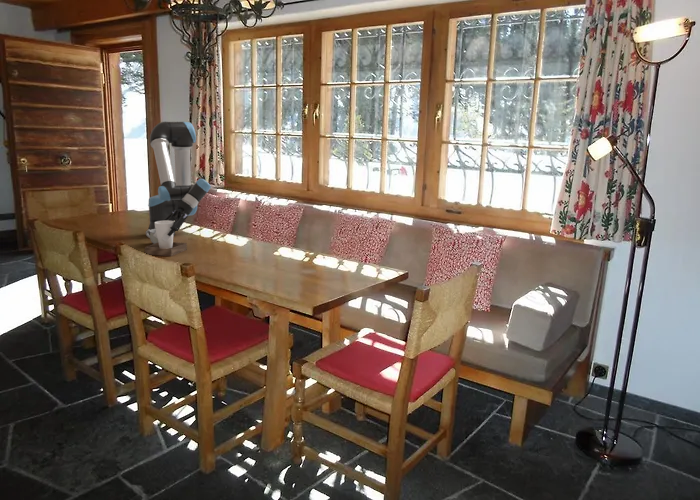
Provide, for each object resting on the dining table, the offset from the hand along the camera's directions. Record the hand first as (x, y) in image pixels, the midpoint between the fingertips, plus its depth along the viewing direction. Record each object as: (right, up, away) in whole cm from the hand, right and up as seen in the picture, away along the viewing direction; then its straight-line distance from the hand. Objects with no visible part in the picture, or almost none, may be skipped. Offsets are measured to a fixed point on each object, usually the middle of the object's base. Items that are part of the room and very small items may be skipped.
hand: (159, 238), depth 270 cm
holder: (+2, -7, +4) cm, 8 cm away
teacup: (-8, -3, +21) cm, 23 cm away
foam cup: (+2, -5, +3) cm, 6 cm away
